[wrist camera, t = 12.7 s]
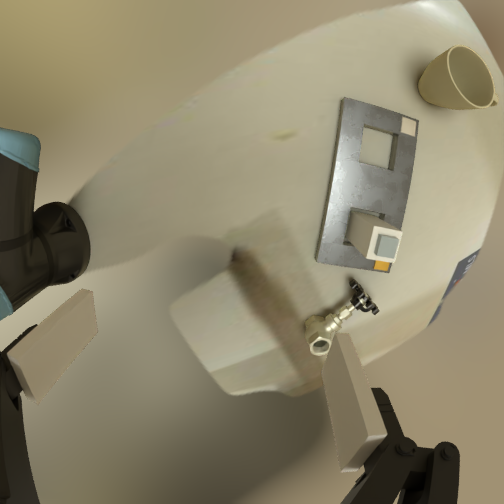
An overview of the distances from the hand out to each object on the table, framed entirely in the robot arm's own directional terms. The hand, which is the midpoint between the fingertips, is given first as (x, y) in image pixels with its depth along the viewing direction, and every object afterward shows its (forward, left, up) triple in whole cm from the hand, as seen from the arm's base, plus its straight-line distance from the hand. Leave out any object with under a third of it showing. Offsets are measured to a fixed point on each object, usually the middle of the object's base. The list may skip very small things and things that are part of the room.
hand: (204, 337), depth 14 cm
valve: (+16, -12, -29) cm, 35 cm away
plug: (+17, +2, -29) cm, 33 cm away
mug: (+27, +27, -29) cm, 48 cm away
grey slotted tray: (+17, +8, -29) cm, 34 cm away
